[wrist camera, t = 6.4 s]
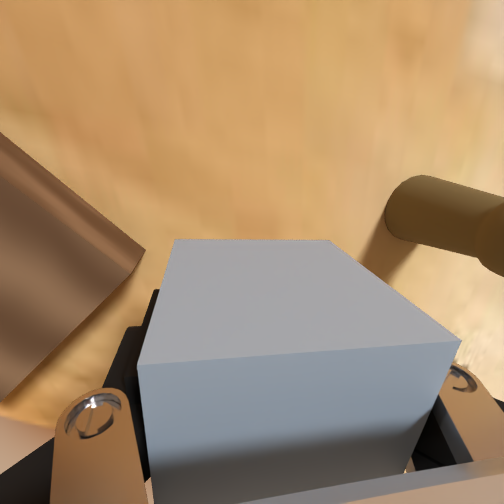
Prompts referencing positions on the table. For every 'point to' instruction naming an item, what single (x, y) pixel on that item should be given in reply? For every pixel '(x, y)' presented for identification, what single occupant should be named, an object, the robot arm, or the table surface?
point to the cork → (449, 219)
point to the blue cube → (282, 372)
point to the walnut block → (49, 262)
